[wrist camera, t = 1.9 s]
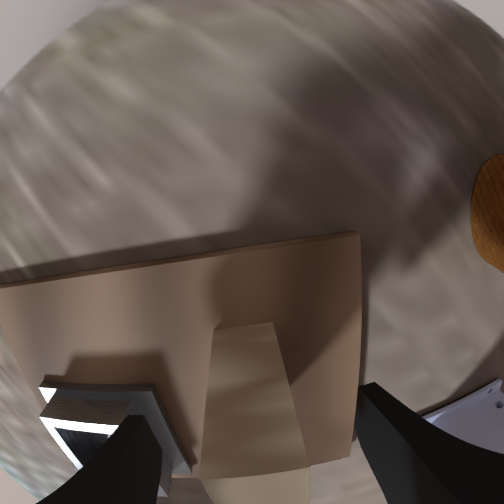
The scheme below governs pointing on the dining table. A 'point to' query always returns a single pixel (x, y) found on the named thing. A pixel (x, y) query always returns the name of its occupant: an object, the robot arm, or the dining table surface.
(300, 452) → the tan wooden block
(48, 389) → the grey square socket
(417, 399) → the dining table surface
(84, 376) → the walnut board
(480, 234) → the disposable coffee cup
